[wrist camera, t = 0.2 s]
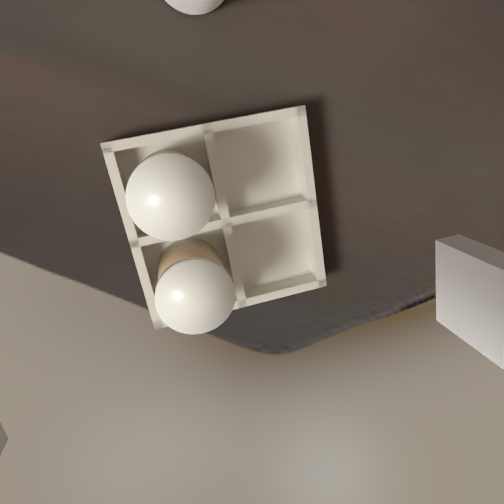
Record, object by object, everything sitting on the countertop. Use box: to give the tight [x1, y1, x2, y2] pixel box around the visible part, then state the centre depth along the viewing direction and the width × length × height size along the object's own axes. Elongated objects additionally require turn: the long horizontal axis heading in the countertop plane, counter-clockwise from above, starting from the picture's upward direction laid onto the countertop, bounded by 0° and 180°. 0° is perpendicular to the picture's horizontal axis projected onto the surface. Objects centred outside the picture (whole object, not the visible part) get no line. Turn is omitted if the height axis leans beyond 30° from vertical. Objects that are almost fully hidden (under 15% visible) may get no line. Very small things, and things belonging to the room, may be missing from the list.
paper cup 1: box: [125, 149, 215, 241], centre depth 33 cm, size 6×6×7 cm
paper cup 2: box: [155, 238, 235, 334], centre depth 36 cm, size 6×6×7 cm
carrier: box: [100, 105, 327, 330], centre depth 37 cm, size 17×17×2 cm
